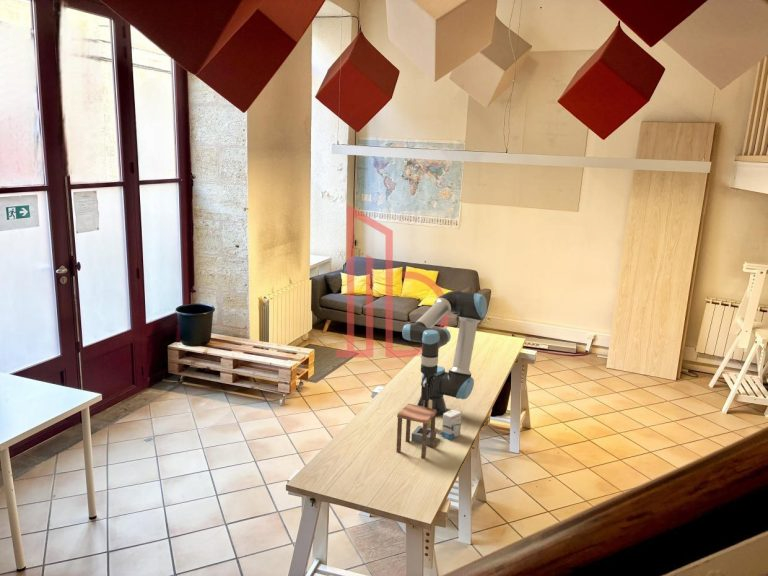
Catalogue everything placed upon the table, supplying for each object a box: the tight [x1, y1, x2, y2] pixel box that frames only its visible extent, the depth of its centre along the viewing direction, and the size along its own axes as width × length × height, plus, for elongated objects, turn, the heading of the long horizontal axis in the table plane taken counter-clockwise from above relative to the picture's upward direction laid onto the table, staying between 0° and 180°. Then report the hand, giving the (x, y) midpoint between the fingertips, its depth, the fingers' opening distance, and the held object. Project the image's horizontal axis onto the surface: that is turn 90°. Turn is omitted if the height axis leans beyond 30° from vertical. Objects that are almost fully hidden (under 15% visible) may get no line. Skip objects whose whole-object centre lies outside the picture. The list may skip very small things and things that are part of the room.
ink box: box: [441, 409, 462, 440], centre depth 286 cm, size 9×5×12 cm, turn 135°
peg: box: [427, 400, 432, 428], centre depth 294 cm, size 4×4×14 cm
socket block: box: [410, 425, 437, 446], centre depth 283 cm, size 9×9×4 cm
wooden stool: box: [396, 403, 437, 459], centre depth 271 cm, size 13×14×18 cm
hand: (426, 412), depth 275 cm, fingers closed
